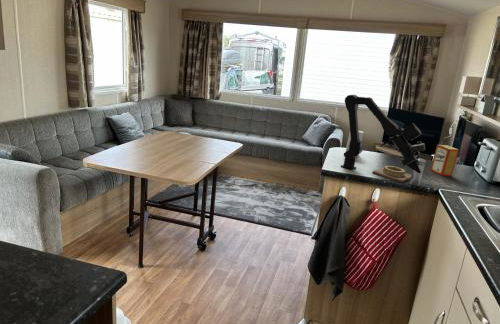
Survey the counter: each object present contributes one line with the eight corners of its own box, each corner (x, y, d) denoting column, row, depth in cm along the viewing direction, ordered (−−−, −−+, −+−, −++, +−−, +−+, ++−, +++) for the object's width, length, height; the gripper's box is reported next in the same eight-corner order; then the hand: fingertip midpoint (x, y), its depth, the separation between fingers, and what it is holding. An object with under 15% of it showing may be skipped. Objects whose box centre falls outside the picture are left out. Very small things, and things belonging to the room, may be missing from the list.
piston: (417, 186, 180) (423, 161, 176) (407, 183, 183) (414, 159, 179) (420, 185, 183) (427, 160, 179) (411, 182, 186) (417, 157, 182)
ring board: (401, 182, 183) (403, 175, 182) (372, 173, 194) (373, 166, 193) (413, 177, 195) (415, 171, 194) (385, 168, 205) (386, 162, 204)
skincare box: (345, 155, 225) (349, 130, 221) (345, 152, 232) (349, 128, 227) (358, 157, 224) (364, 132, 219) (358, 155, 230) (363, 130, 226)
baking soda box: (451, 176, 207) (459, 149, 202) (441, 175, 205) (449, 148, 200) (439, 170, 215) (446, 144, 211) (430, 170, 214) (437, 143, 209)
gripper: (415, 139, 170) (434, 167, 168) (420, 134, 186) (437, 160, 184) (393, 151, 176) (412, 179, 174) (400, 145, 192) (417, 170, 190)
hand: (420, 171), depth 180 cm, fingers closed on piston, 5 cm apart
